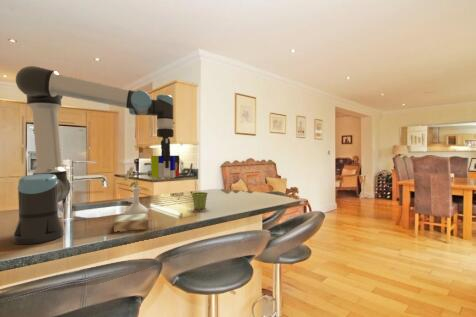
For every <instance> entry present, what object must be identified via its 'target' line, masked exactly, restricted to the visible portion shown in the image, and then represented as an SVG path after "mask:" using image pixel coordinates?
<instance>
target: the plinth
mask: <svg viewBox="0 0 476 317" xmlns="http://www.w3.org/2000/svg"><path fill="white" fill-rule="evenodd" d="M148 214H149V212H148V213H146V214H133V215H126V214H124V215H123V214H122V215H116V217H115V219H114V222H113V232H114V233H118V232H117V231H120V232H128V231H127V230H130V231H139V230H140V229H141V230H148V229H149V215H148ZM141 230H140V231H141Z"/></svg>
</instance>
